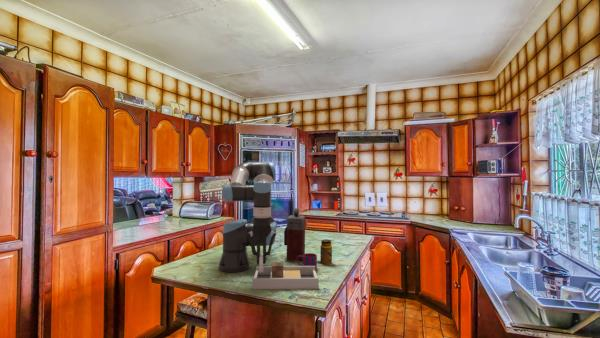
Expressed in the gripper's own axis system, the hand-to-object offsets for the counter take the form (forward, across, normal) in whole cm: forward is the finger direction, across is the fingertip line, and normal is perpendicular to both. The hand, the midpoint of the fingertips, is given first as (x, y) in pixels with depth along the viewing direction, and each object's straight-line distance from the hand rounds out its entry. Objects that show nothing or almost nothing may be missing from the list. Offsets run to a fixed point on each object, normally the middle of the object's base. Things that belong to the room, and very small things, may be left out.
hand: (261, 271), depth 120 cm
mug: (+5, +21, +17) cm, 27 cm away
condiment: (+5, +31, +25) cm, 40 cm away
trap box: (+5, +11, 0) cm, 12 cm away
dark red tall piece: (+5, +15, +33) cm, 36 cm away
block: (+2, +7, 0) cm, 7 cm away
